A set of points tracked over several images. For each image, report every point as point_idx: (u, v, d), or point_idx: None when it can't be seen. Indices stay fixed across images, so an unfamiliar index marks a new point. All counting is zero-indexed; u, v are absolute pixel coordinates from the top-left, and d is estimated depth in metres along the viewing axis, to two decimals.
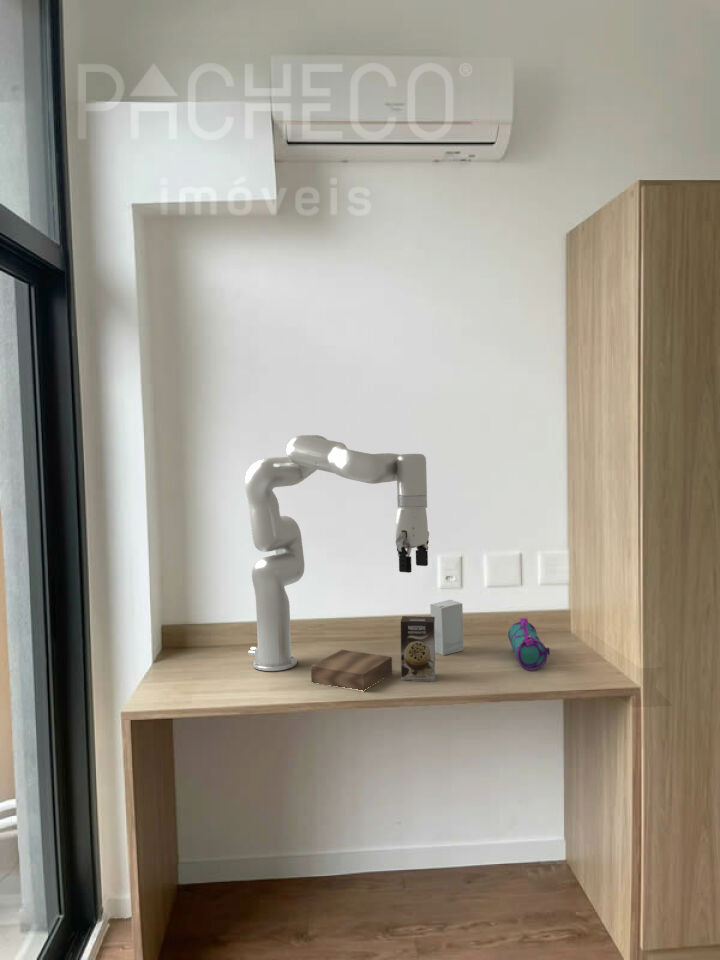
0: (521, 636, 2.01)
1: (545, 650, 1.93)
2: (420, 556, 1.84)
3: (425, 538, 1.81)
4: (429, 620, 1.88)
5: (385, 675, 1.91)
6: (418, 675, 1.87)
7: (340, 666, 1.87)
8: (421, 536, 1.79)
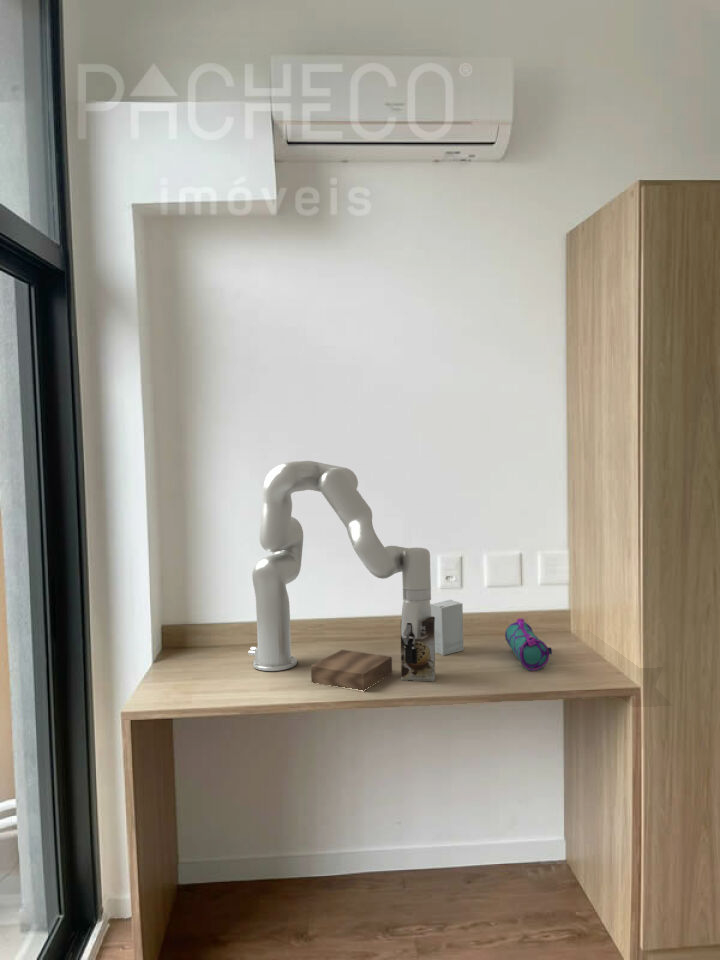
0: (521, 636, 2.01)
1: (547, 650, 1.93)
2: None
3: None
4: (429, 620, 1.88)
5: (385, 675, 1.91)
6: (418, 675, 1.87)
7: (340, 666, 1.87)
8: None
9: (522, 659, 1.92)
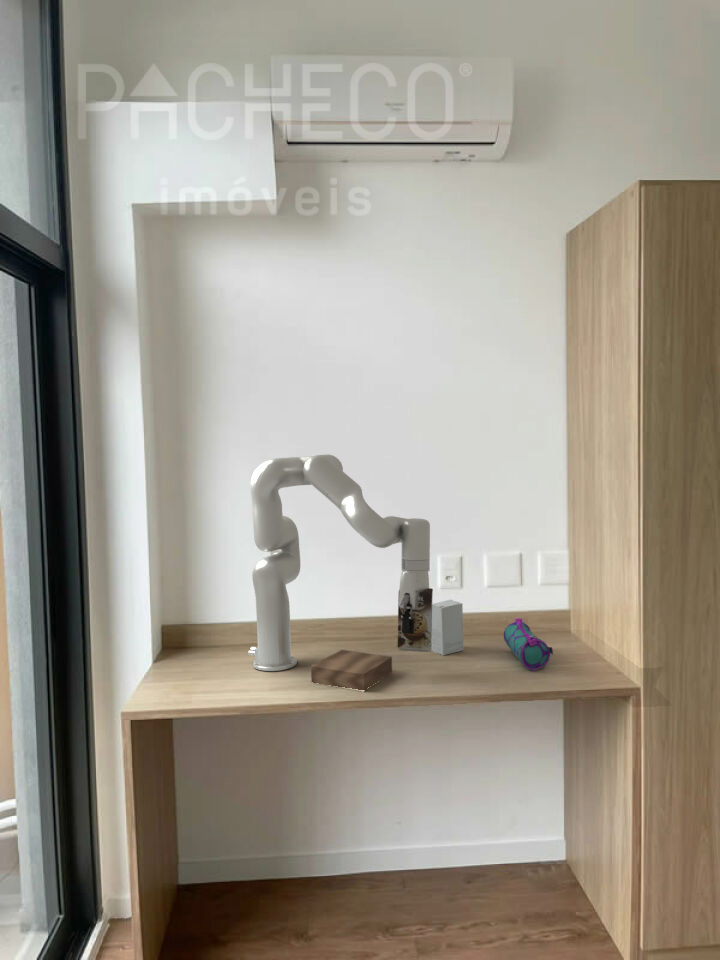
0: (521, 636, 2.01)
1: (548, 650, 1.93)
2: None
3: None
4: (427, 591, 1.87)
5: (385, 675, 1.91)
6: (414, 646, 1.87)
7: (340, 666, 1.87)
8: None
9: (523, 659, 1.92)
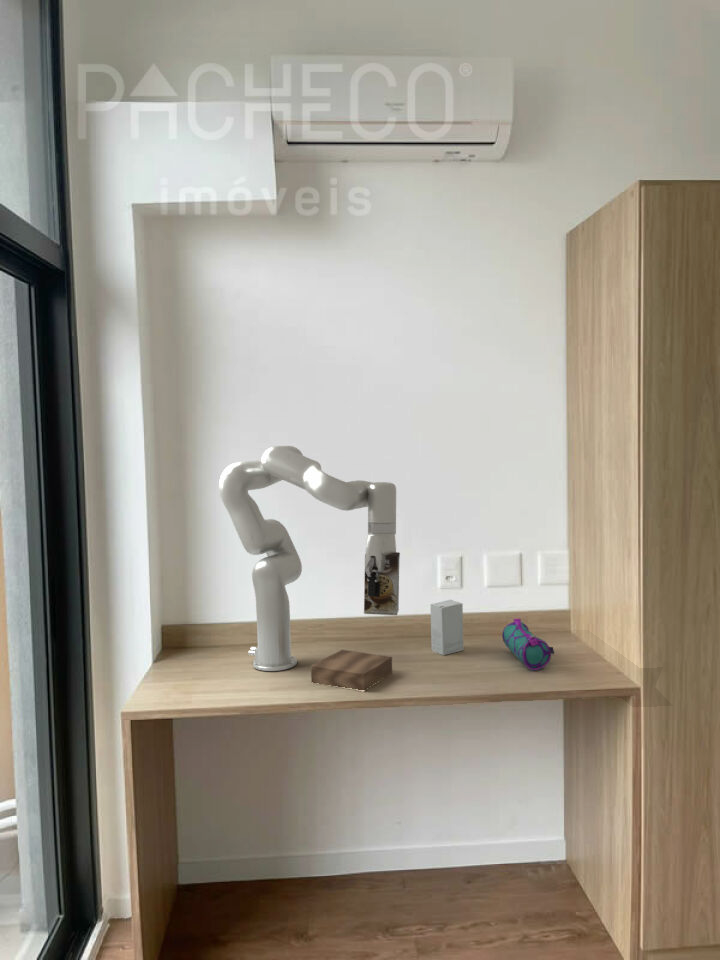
0: (521, 636, 2.01)
1: (549, 649, 1.94)
2: None
3: None
4: (394, 554, 1.87)
5: (385, 675, 1.91)
6: (381, 609, 1.87)
7: (340, 666, 1.87)
8: None
9: (525, 659, 1.92)
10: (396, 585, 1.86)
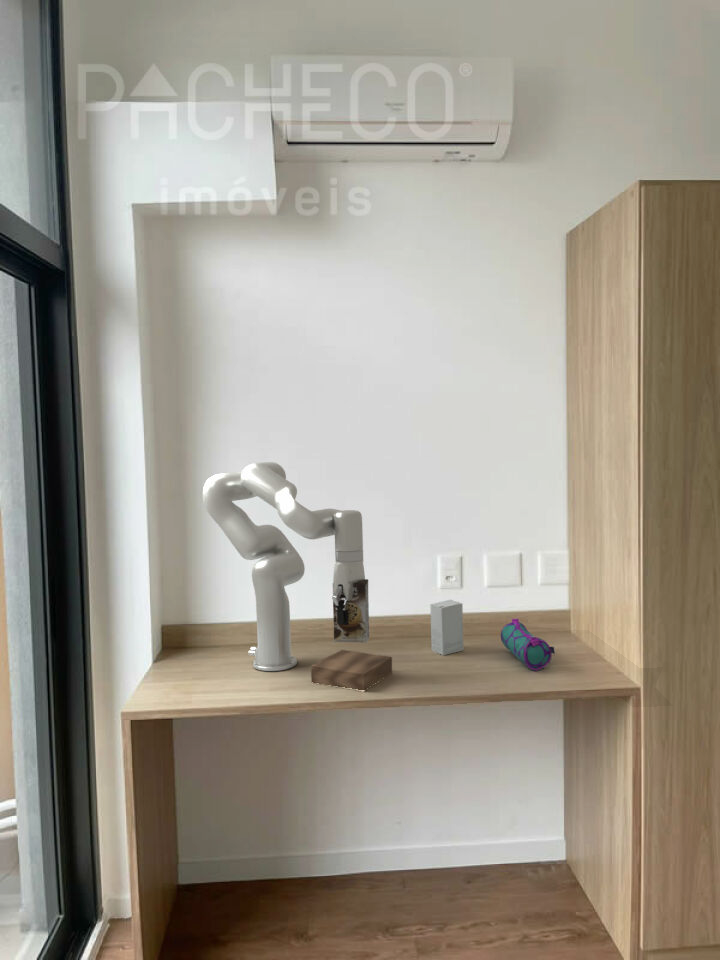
0: (521, 637, 2.00)
1: (549, 649, 1.94)
2: None
3: None
4: (361, 581, 1.88)
5: (385, 675, 1.91)
6: (350, 637, 1.88)
7: (340, 666, 1.87)
8: None
9: (526, 659, 1.92)
10: (364, 612, 1.87)
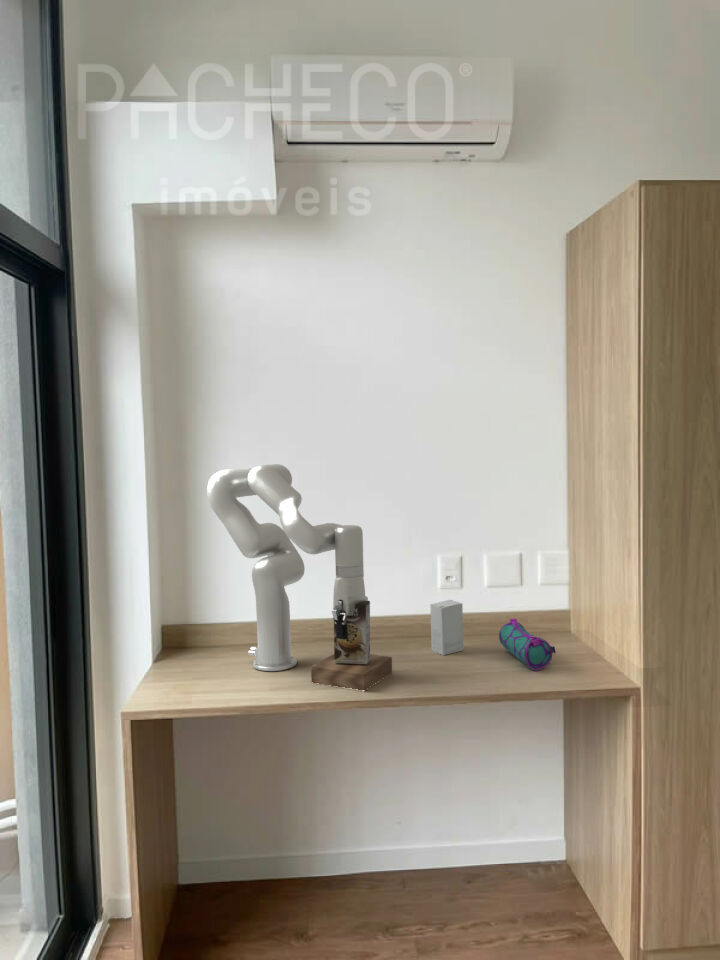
0: (521, 637, 2.00)
1: (550, 649, 1.94)
2: None
3: None
4: (362, 603, 1.89)
5: (385, 675, 1.91)
6: (350, 658, 1.88)
7: (340, 666, 1.87)
8: None
9: (527, 659, 1.92)
10: (365, 634, 1.87)
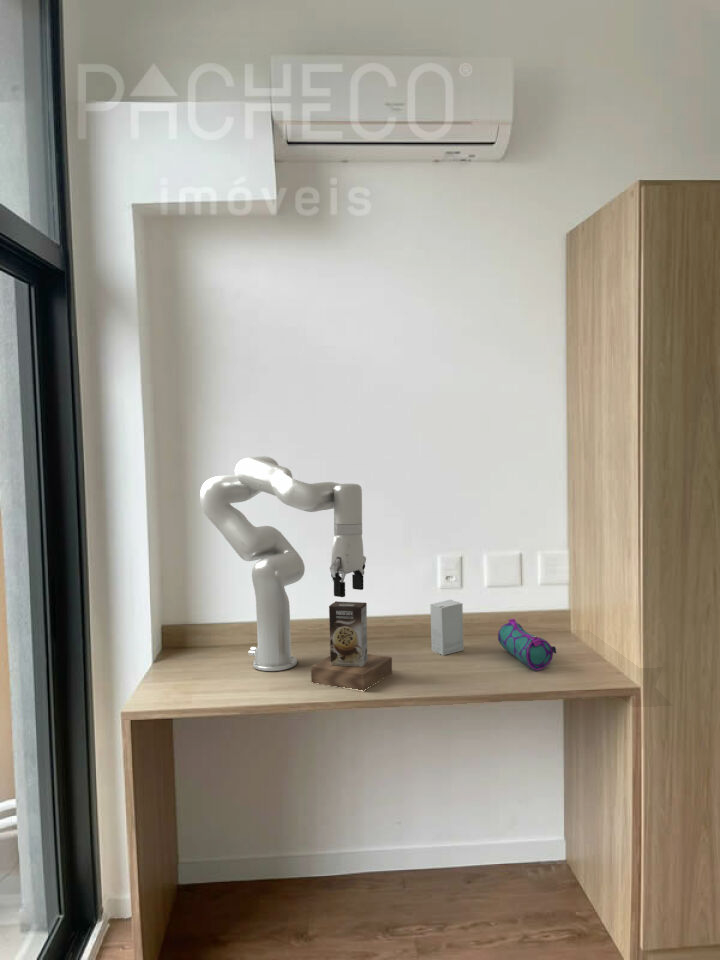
0: (521, 637, 2.00)
1: (551, 649, 1.94)
2: (356, 580, 1.94)
3: (360, 564, 1.91)
4: (358, 605, 1.87)
5: (385, 675, 1.91)
6: (346, 660, 1.87)
7: (340, 666, 1.87)
8: (356, 563, 1.89)
9: (529, 660, 1.92)
10: (360, 637, 1.86)
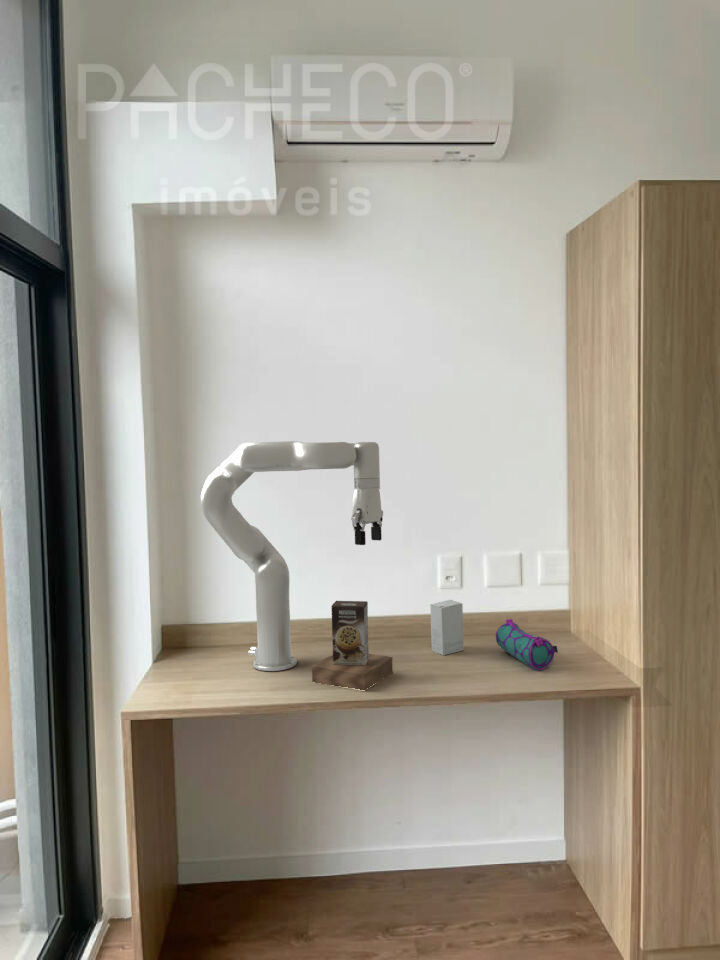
0: (521, 637, 2.00)
1: (552, 648, 1.94)
2: (375, 532, 2.11)
3: (378, 516, 2.08)
4: (360, 604, 1.88)
5: (386, 675, 1.91)
6: (349, 659, 1.88)
7: (340, 666, 1.87)
8: (374, 514, 2.06)
9: (531, 660, 1.92)
10: (363, 636, 1.87)
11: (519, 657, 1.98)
